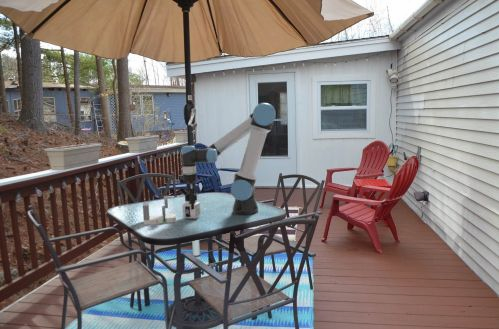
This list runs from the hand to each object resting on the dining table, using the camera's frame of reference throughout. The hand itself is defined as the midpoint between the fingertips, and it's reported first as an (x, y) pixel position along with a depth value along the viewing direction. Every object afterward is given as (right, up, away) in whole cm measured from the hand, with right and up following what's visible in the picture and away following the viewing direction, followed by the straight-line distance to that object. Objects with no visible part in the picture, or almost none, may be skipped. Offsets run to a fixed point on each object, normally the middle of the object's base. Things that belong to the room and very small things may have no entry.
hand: (191, 212), depth 213 cm
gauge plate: (-14, -3, -4) cm, 15 cm away
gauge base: (-17, -4, -4) cm, 18 cm away
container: (0, -2, 0) cm, 3 cm away
